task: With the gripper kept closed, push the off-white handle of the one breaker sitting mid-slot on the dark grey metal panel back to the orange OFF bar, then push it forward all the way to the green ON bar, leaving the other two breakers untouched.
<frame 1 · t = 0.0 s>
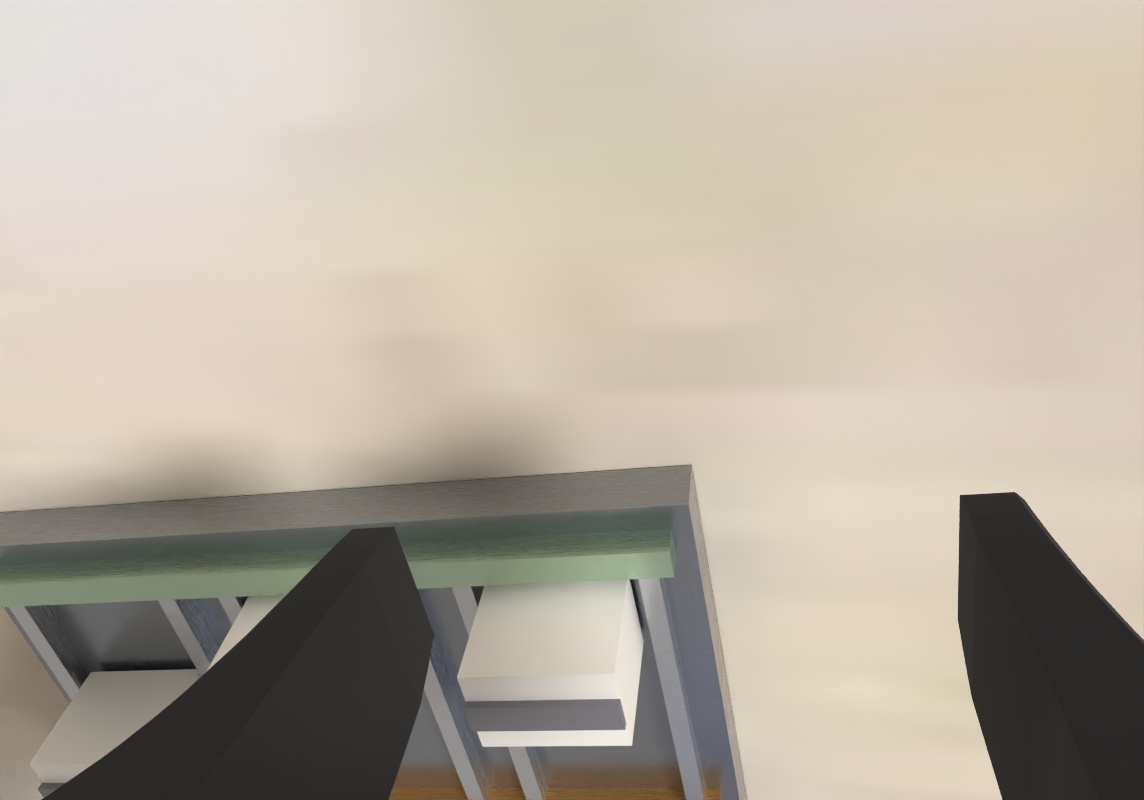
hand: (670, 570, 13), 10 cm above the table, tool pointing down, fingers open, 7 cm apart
tripped breaker: (132, 746, 29), point 3 cm above the table, slide at 3.0 cm
panel: (391, 671, 31), on the table
breaker b: (307, 667, 26), point 3 cm above the table, slide at 6.0 cm
breaker a: (555, 661, 24), point 3 cm above the table, slide at 6.0 cm
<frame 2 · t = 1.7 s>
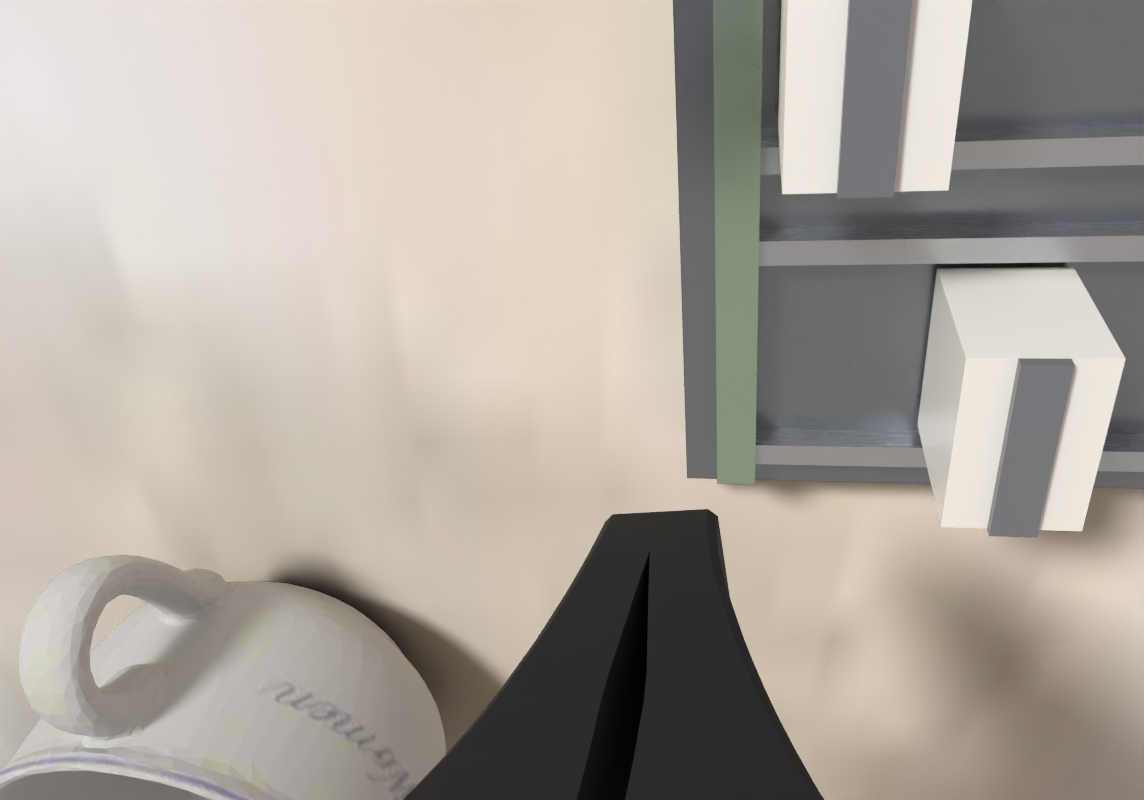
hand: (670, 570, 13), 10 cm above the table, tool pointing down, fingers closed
teacup: (291, 616, 30), on the table
tripped breaker: (1008, 399, 19), point 3 cm above the table, slide at 3.0 cm
breaker b: (864, 41, 15), point 3 cm above the table, slide at 6.0 cm
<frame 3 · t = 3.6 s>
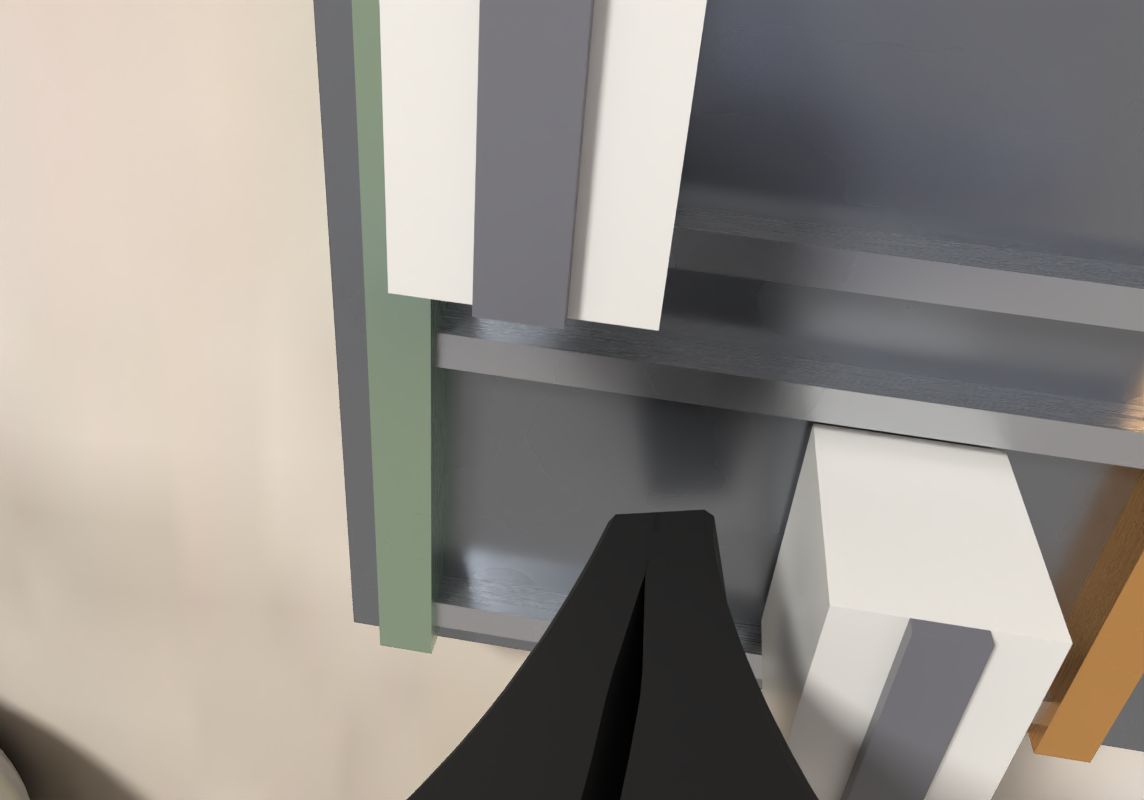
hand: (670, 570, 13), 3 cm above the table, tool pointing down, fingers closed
tripped breaker: (887, 635, 12), point 3 cm above the table, slide at 1.5 cm, touching gripper
panel: (953, 13, 12), on the table
breaker b: (562, 55, 9), point 3 cm above the table, slide at 6.0 cm
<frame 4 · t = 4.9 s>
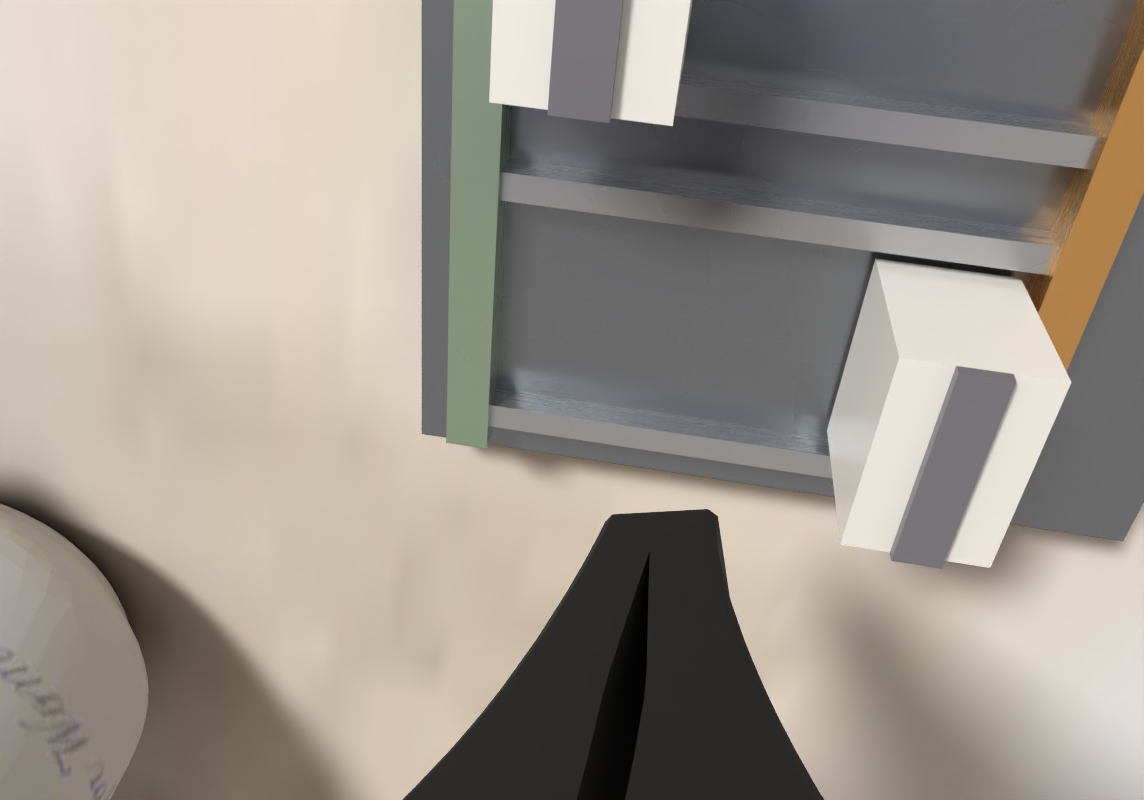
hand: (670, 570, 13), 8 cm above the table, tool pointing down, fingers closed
tripped breaker: (932, 413, 17), point 3 cm above the table, slide at -0.1 cm
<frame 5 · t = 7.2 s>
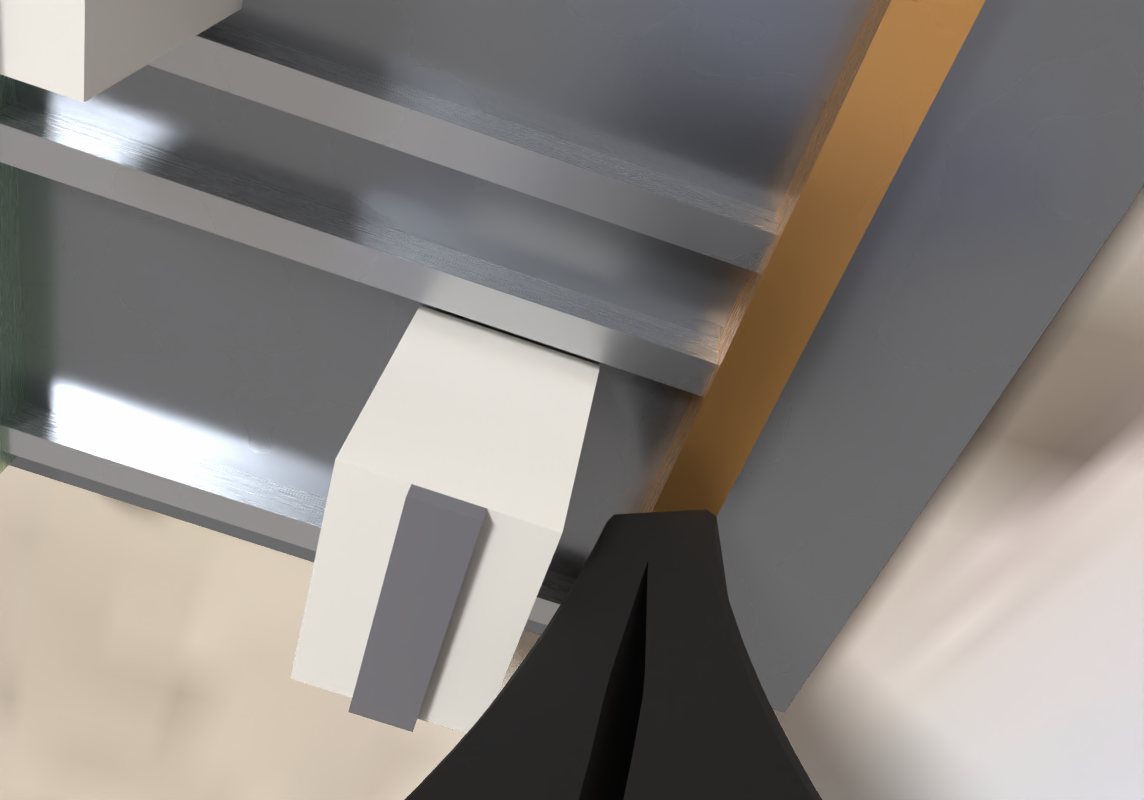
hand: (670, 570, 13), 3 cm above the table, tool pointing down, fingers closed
tripped breaker: (447, 523, 13), point 3 cm above the table, slide at 1.0 cm, touching gripper
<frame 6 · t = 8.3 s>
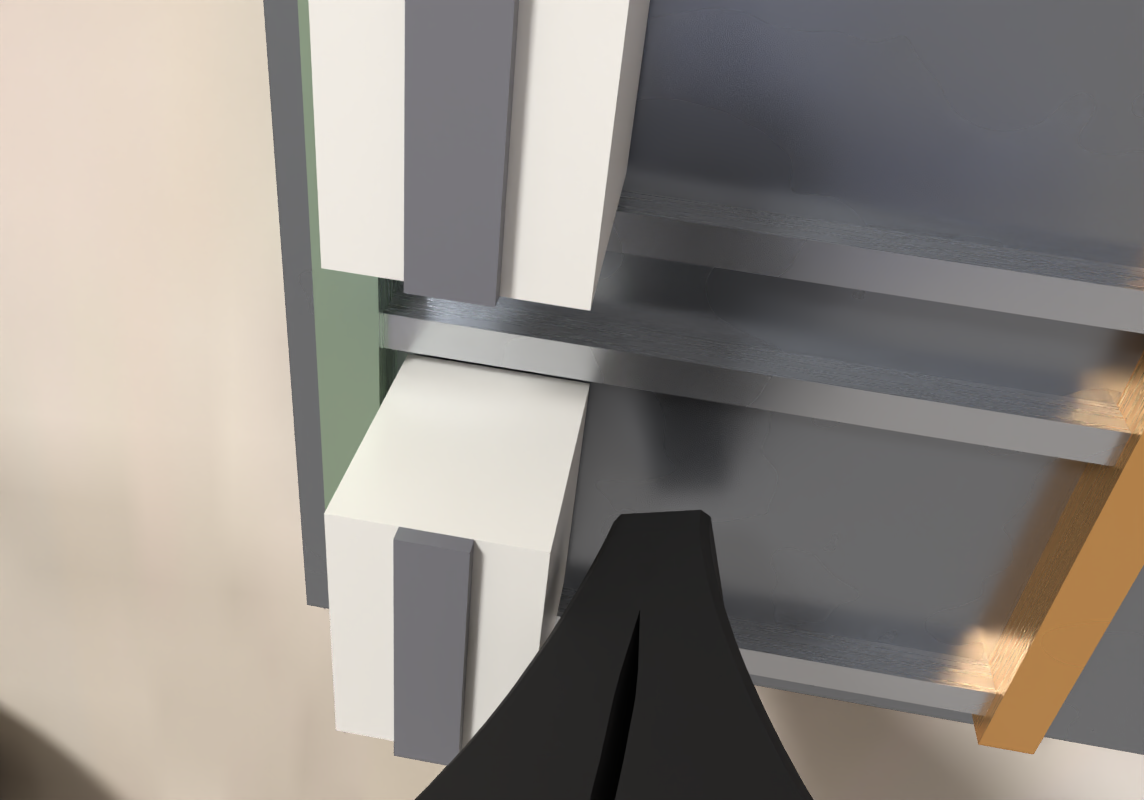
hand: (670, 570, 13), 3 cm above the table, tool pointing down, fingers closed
tripped breaker: (463, 559, 13), point 3 cm above the table, slide at 6.1 cm, touching gripper
panel: (903, 4, 12), on the table
breaker b: (500, 33, 9), point 3 cm above the table, slide at 6.0 cm
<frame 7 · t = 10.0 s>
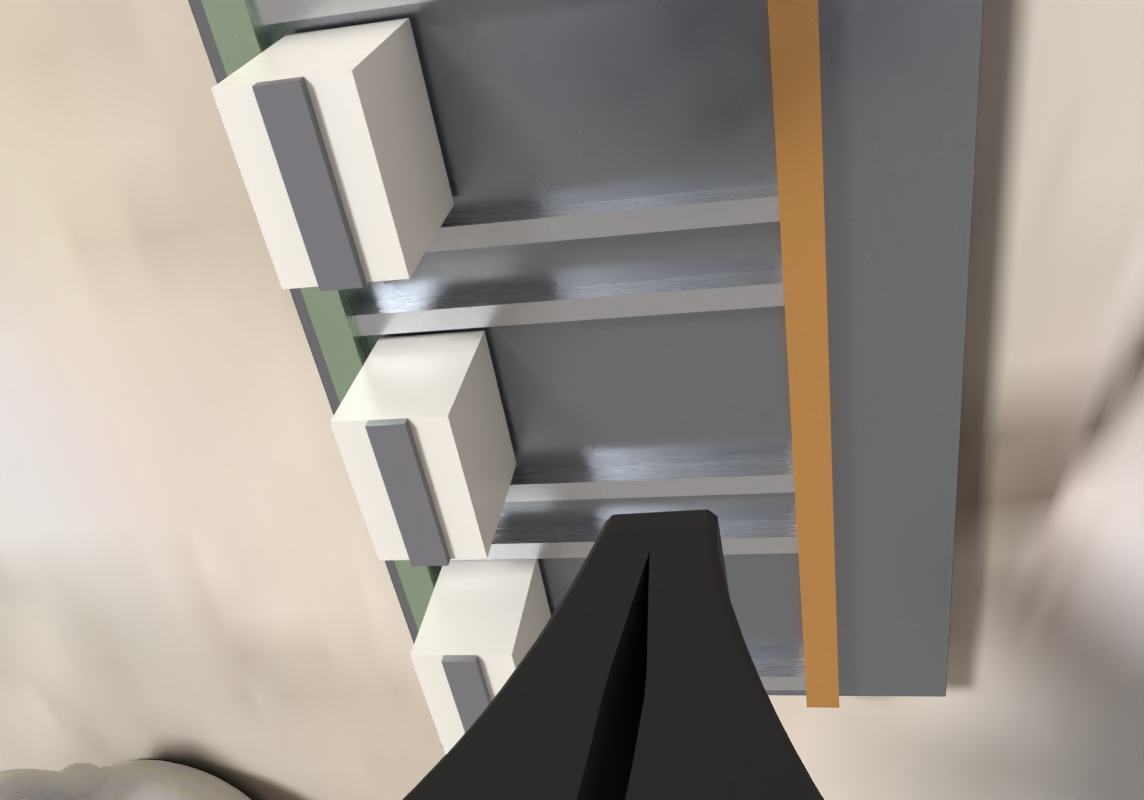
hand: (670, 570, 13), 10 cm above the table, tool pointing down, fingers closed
teacup: (175, 781, 37), on the table
tripped breaker: (490, 659, 25), point 3 cm above the table, slide at 6.1 cm
panel: (632, 352, 24), on the table
breaker b: (430, 447, 22), point 3 cm above the table, slide at 6.0 cm
breaker a: (344, 154, 18), point 3 cm above the table, slide at 6.0 cm
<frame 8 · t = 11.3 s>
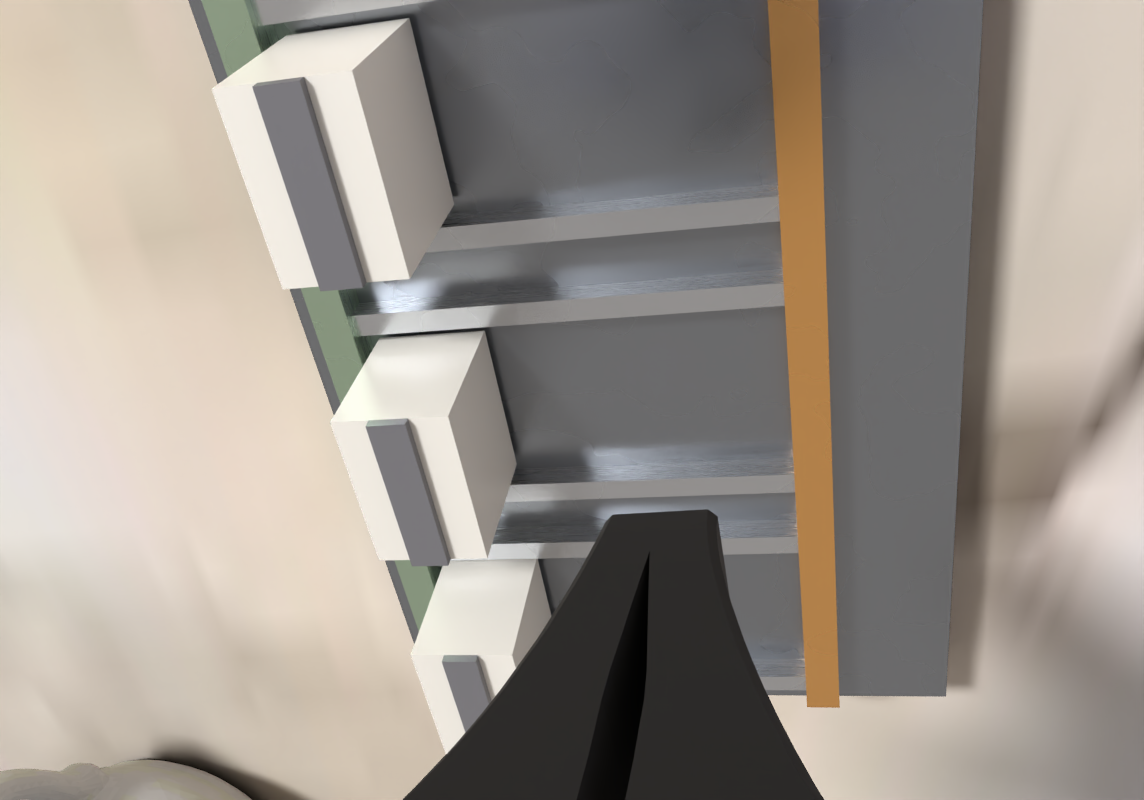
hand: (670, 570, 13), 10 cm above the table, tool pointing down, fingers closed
teacup: (176, 781, 37), on the table
tripped breaker: (491, 659, 25), point 3 cm above the table, slide at 6.1 cm
panel: (632, 352, 24), on the table
breaker b: (430, 447, 22), point 3 cm above the table, slide at 6.0 cm
breaker a: (344, 155, 18), point 3 cm above the table, slide at 6.0 cm
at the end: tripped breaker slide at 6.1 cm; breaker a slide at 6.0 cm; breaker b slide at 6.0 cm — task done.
